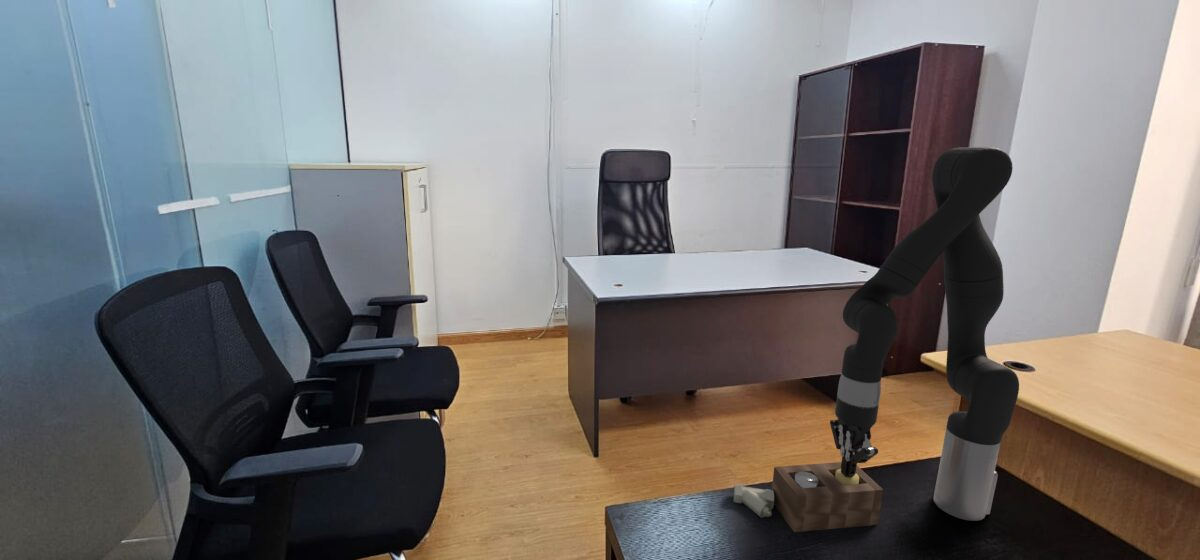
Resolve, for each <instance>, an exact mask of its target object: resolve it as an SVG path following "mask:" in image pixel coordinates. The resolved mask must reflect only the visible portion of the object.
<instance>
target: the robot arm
mask: <svg viewBox="0 0 1200 560" xmlns="http://www.w3.org/2000/svg"><path fill="white" fill-rule="evenodd" d="M1012 174H1013V162H1012V158H1011V157H1010V155H1009V154H1008V153H1007V152H1006V151H1004V150H1003V149H1001V148H998V147H992V146H975V147H974V146H971V147H969V146H968V147H967V146H965V147H964V146H963V147H955V148H950V149H948V150H945V151H944V152H942V153H941V154H940V155H939V157H938V158H936V161H935V163H934V166H933V169H932V176H931V177H932V189H933V193H934V199H935V202H936V203H935V204H936V211H935V212H934V213H933V214H932V215H931V216H929V218H927V219H926V220H925V221H924V222H922V223H921V224H920V225H918V226H917V227H916V228H915V229H913V230H912V231H911V232H909V233H908V234H907V235H906V236H904V238H902V240H900V241H899V242H898V243H897V244H896V245H895V246H894V247H893V249H892V250H891V252H890V253H888V256H887V257H886V259H885V260H884V262H883V263H882V265H881V266H880V267H879V269H878V270H877V272H876V273H875V274H874V275H873V276H871V277H870V279H868V280H867V281H865V283H863V285H861V286H860V287H859V288H858V289H857V290H856V291H855V292H854V293H853V294H852V295H851V296H850V297H849V298H848V300H847V301H846V303H845V305H844V307H843V310H842V319H843V322H844V324H845V325H846V326H847V327H848V328H850V329H851V330H853V331H855V333H858V337H857V341H856V343H853V344H849V345H848V346H847V347H845V350H844V353H843V358H842V359H843V360H842V366H841V373H840V378H839V382H838V387H837V395H836V402H835V410H834V413H835V416H836V417H835V418H837V419H830V421H829V424H830V429H831V433H832V436H833V441H834V445H835V448H836V449H837V450H839V451H840V456H841V461H840V462H841V473H842V474H843V475H844V476H845V477H853V476H854V475H855V473H856V466H858V464H865V463H867V461H870V460H871V459H872V458H874V457H875V456H877V455H878V454H879V450H878V448H877V447H876V446H875V447H874V446H873V445H872V443H871V439H872V433H871V429H872V428H873V426H874V425H876V423H877V421H878V420H877V419H878V414H879V413H878V412H879V408H880V407H879V406H880V401H881V393H882V376H883V369H884V361H885V359H886V357H887V355H888V353H889V351H890V349H891V348H892V347H891V346H892V345H893V342H894V340H895V338H896V335H897V331H898V324H899V323H898V317H897V314H896V312H895V311H894V310H893V308H892V307H889V306H888V305H889V304H890V303H891V302H892V301H893V300H895V299H899V298H900V299H905V298H907V297H910V296H911V295H912V294H913V292H914V291H915V290H916V289H917V287H918V286H919V285H920V283H921V281H922V280H923V279H924V278H925V276H926V274H927V273H928V272H929V271H930V269H931V268H932V266H933V265H934V264H935V263H936V261H937V260H938V258H939V257H940V256H941V255H942V257H943V279H944V291H945V301H946V317H947V347H946V348H947V351H946V366H945V367H946V368H945V372H946V373H945V375H946V381H947V384H948V385H949V387H950V388H951V390H953V391H954V392H955V393H957V394H958V395H959V396H960V397H963V398H964V399H966V400H968V401H969V405H968V408H967V411H961V410H960V411H954V412H952V413H950V414H949V415H948V417H947V423H946V426H945V431H944V438H943V444H942V449H941V454H940V460H939V467H938V472H937V477H936V483H935V487H934V493H933V498H932V499H933V502H934V503H935V505H936V506H937V508H939V509H940V510H941V511H943V512H944V513H946V514H948V515H949V516H952V517H955V518H957V519H960V520H963V521H964V520H965V521H972V522H973V521H974V522H975V521H976V522H977V521H982V520H983V519H985V518H986V516H988V515H990V514H991V509H992V504H993V499H994V497H995V496H994V495H995V492H996V491H995V490H996V488H997V487H996V486H997V482H998V477H999V475H998V472H997V471H996V467H997V461H998V457H999V452H1000V447H1001V441H1002V439H1003V435H1004V434H1005V433H1006V431H1008V428H1009V426H1010V425H1011V422H1012V417H1013V415H1014V410H1015V407H1016V403H1017V401H1018V396H1019V393H1020V392H1019V391H1020V382H1019V381H1020V380H1019V376H1018V374H1017V373H1016V371H1014V370H1012V369H1010V368H1009V367H1007V366H1005V365H1003V364H1001V363H998V362H996V361H995V360H993V359H990V358H989V357H988V355H987V352H986V343H985V339H986V337H985V335H986V329H987V327H988V325H989V323H990V321H991V320H992V319H993V318H994V316H995V314H996V313H997V312H998V310H999V308H1000V307H1001V304H1002V302H1003V300H1004V294H1005V293H1004V270H1003V264H1002V260H1001V257H1000V255H999V253H998V251H997V249H996V247H995V246H994V244H993V242H992V240H991V239H990V237H989V234H988V233H987V231H986V230H985V228H984V226H983V222H982V221H981V217H980V214H981V213H982V212H983V211H984V210H985V209H986V208H987V207H988V206H989V205H990V204H991V203H992V202H993V201H994V200H995V199H996V198H997V197H998V196H999V195H1000V193H1001V192H1002V191H1003V190H1004V189H1005V187H1006V186H1008V183H1009V182H1010V180H1011V177H1012Z"/></svg>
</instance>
